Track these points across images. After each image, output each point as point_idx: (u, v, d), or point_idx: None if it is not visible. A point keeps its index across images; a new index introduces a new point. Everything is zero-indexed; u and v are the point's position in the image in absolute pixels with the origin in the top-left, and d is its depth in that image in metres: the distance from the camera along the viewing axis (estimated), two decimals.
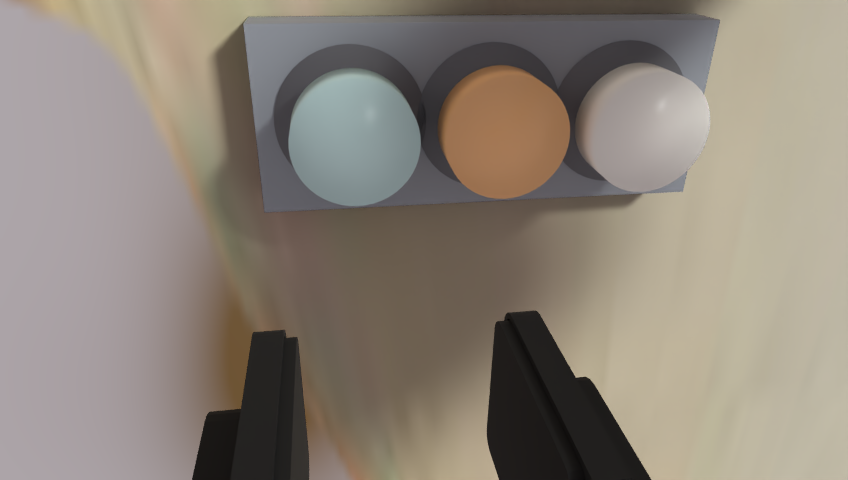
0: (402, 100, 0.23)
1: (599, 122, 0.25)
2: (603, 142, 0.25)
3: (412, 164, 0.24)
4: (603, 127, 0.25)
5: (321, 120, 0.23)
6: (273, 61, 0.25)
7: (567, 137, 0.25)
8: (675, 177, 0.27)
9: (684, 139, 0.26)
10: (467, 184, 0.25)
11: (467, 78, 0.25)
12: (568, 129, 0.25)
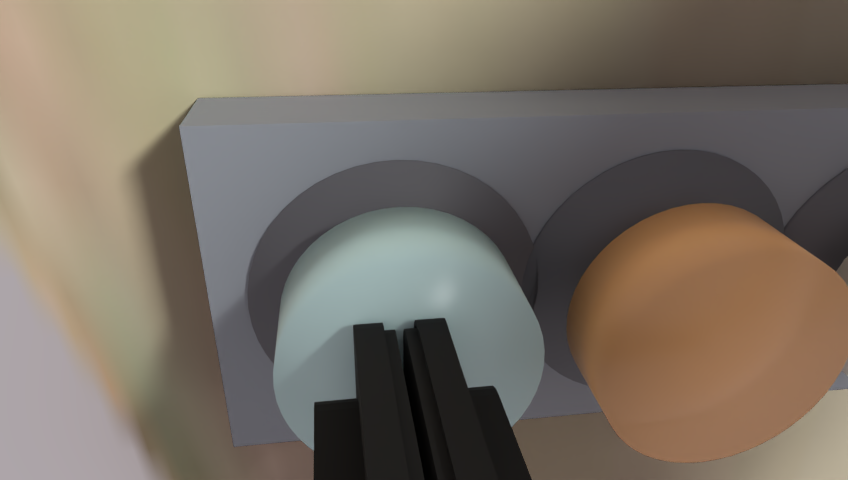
0: (514, 291, 0.11)
1: None
2: None
3: (523, 401, 0.12)
4: None
5: (342, 336, 0.11)
6: (245, 196, 0.12)
7: (845, 355, 0.12)
8: None
9: None
10: (634, 443, 0.12)
11: (639, 233, 0.12)
12: None
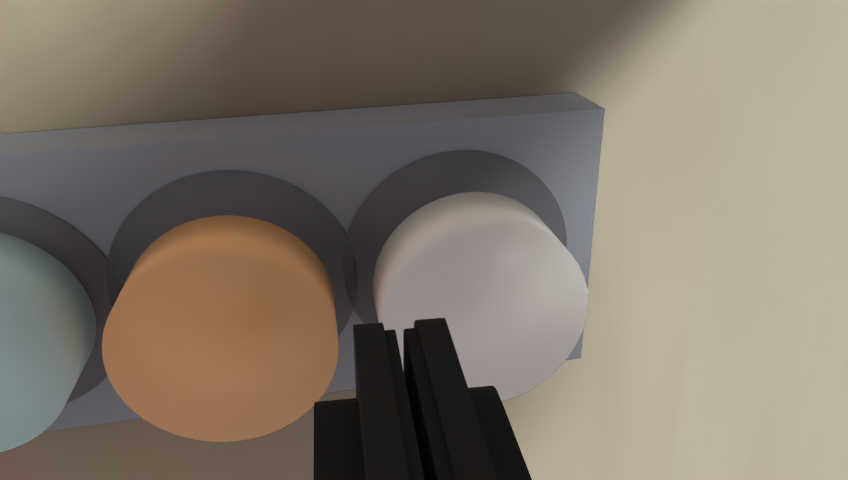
0: (9, 293, 0.13)
1: (387, 310, 0.14)
2: (402, 340, 0.15)
3: (62, 387, 0.14)
4: (397, 319, 0.14)
5: None
6: None
7: (333, 339, 0.14)
8: (541, 378, 0.16)
9: (547, 322, 0.15)
10: (165, 427, 0.14)
11: (153, 244, 0.14)
12: (332, 327, 0.14)
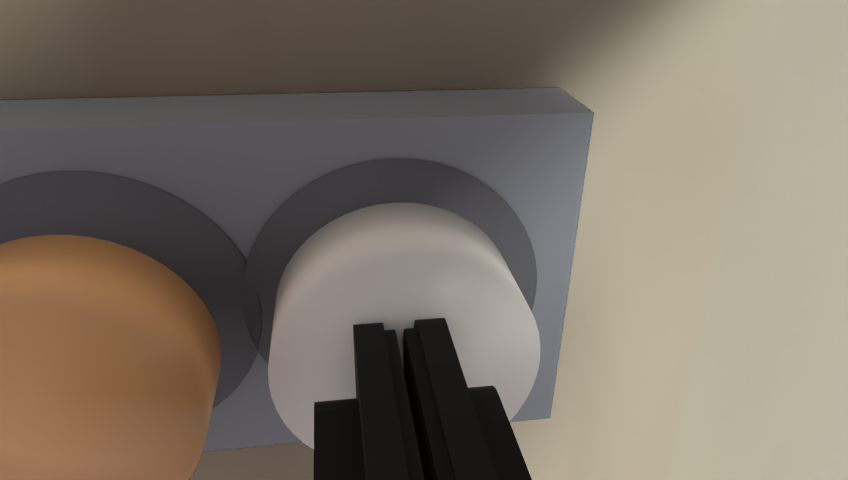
0: None
1: (275, 354, 0.11)
2: (295, 391, 0.11)
3: None
4: (288, 364, 0.11)
5: None
6: None
7: (197, 414, 0.10)
8: None
9: (486, 375, 0.12)
10: None
11: None
12: (195, 398, 0.10)
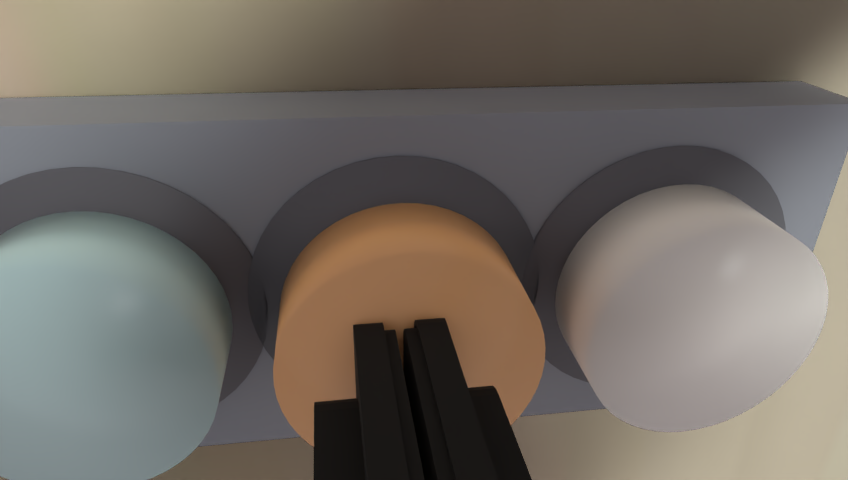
0: (159, 301, 0.10)
1: (603, 320, 0.12)
2: (610, 355, 0.12)
3: (205, 415, 0.12)
4: (610, 330, 0.12)
5: None
6: None
7: (540, 361, 0.12)
8: (750, 405, 0.14)
9: (773, 342, 0.13)
10: None
11: (328, 234, 0.12)
12: (542, 346, 0.12)
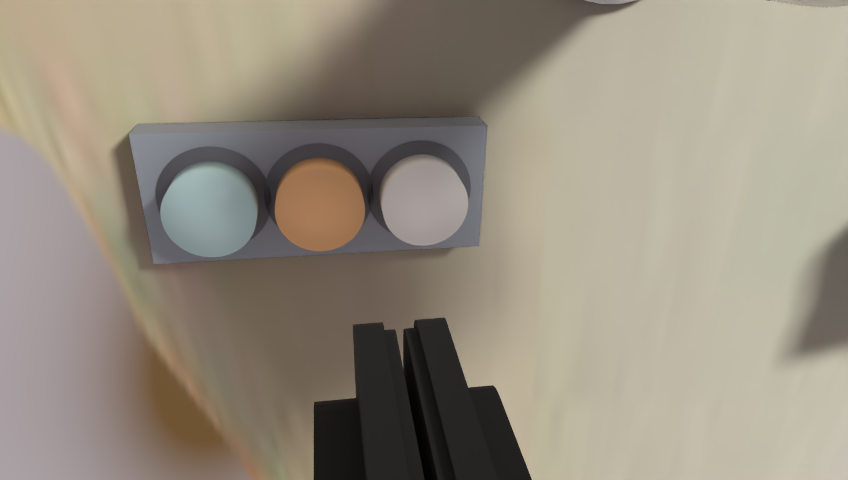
0: (239, 186, 0.34)
1: (385, 198, 0.35)
2: (390, 212, 0.36)
3: (251, 228, 0.35)
4: (389, 202, 0.36)
5: (182, 200, 0.33)
6: (153, 159, 0.35)
7: (363, 209, 0.35)
8: (448, 235, 0.37)
9: (451, 209, 0.36)
10: (293, 241, 0.36)
11: (292, 167, 0.35)
12: (363, 203, 0.35)
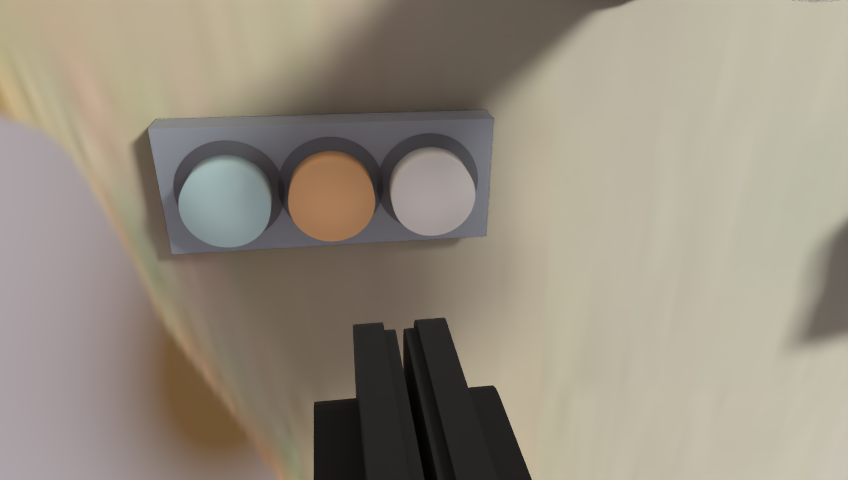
0: (254, 179, 0.35)
1: (395, 190, 0.36)
2: (400, 203, 0.37)
3: (266, 219, 0.36)
4: (398, 193, 0.37)
5: (199, 192, 0.35)
6: (171, 153, 0.36)
7: (373, 200, 0.37)
8: (456, 225, 0.38)
9: (458, 200, 0.37)
10: (306, 232, 0.37)
11: (305, 160, 0.37)
12: (373, 195, 0.36)
